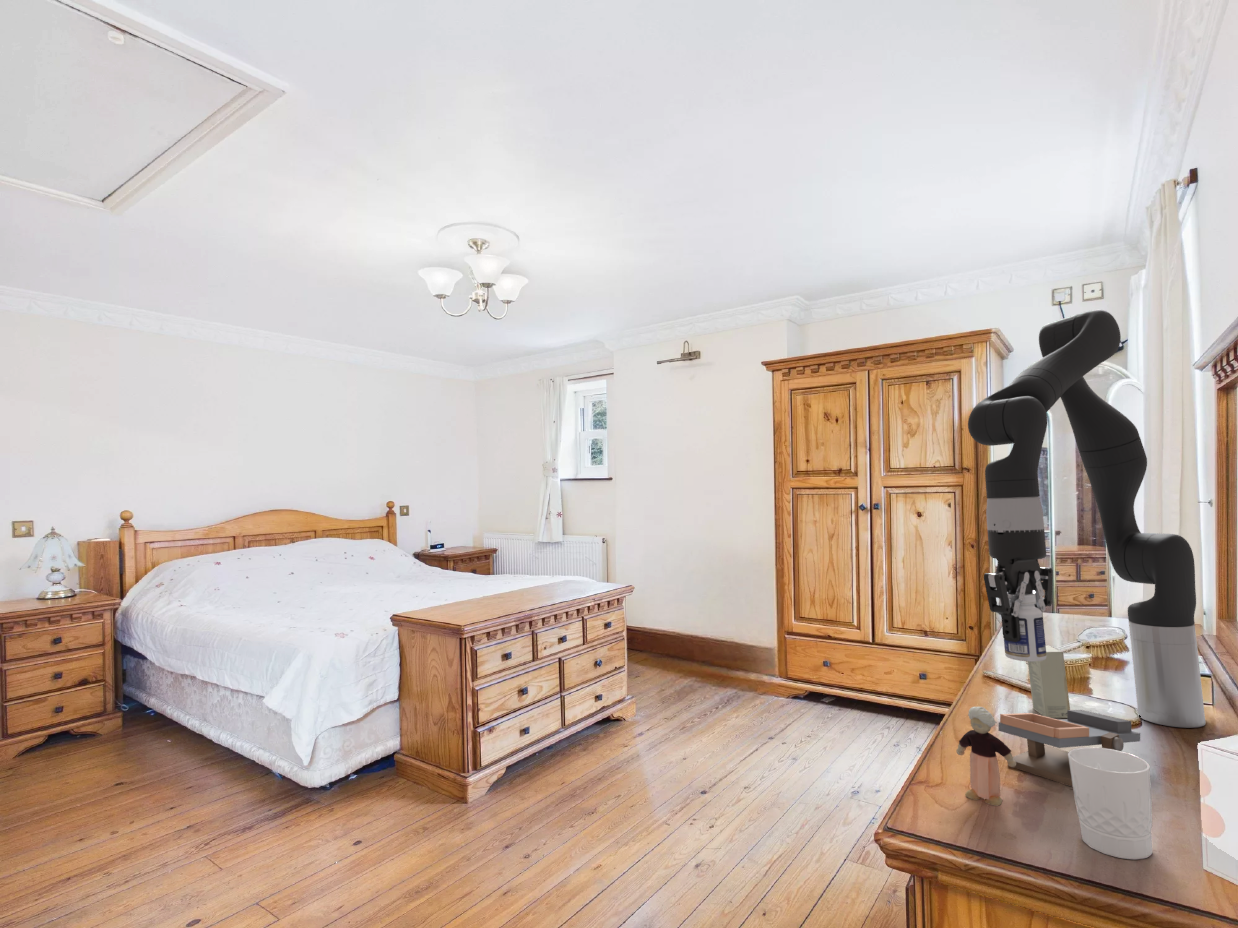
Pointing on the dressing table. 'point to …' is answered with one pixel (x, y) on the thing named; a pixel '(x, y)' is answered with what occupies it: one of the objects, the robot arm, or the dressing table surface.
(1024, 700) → the dressing table surface
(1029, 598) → the pill bottle
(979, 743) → the grandmother figurine
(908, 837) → the dressing table surface
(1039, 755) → the balance stand
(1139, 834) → the white cup
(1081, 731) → the balance beam
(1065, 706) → the skincare box
